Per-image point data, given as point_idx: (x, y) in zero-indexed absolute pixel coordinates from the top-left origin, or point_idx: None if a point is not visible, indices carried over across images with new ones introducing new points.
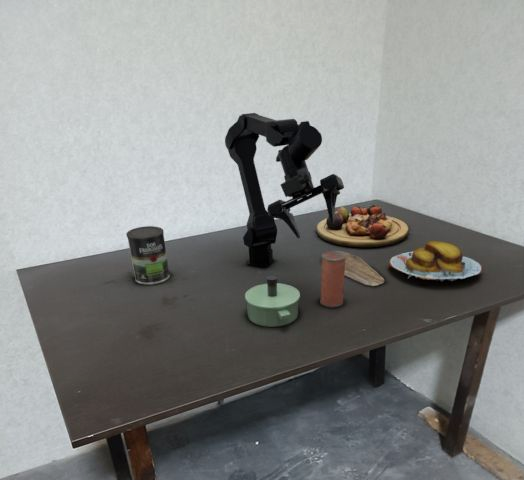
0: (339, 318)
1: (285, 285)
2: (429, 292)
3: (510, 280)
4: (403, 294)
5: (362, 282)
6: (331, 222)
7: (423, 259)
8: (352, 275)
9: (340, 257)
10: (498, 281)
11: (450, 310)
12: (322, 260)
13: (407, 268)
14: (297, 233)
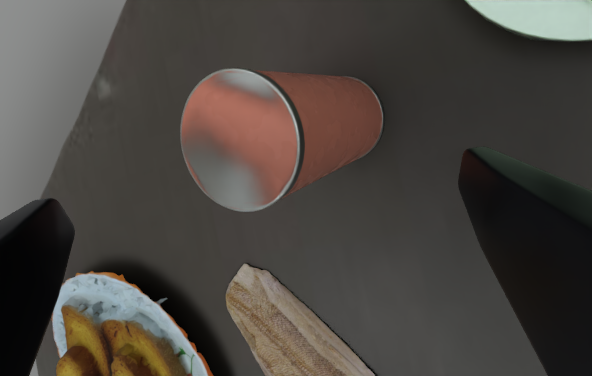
0: (291, 5)
1: (550, 22)
2: (129, 244)
3: None
4: (172, 223)
5: (279, 286)
6: (50, 199)
7: (126, 371)
8: (316, 333)
9: (198, 122)
10: None
11: (81, 156)
12: (298, 104)
13: (181, 363)
14: (484, 168)
